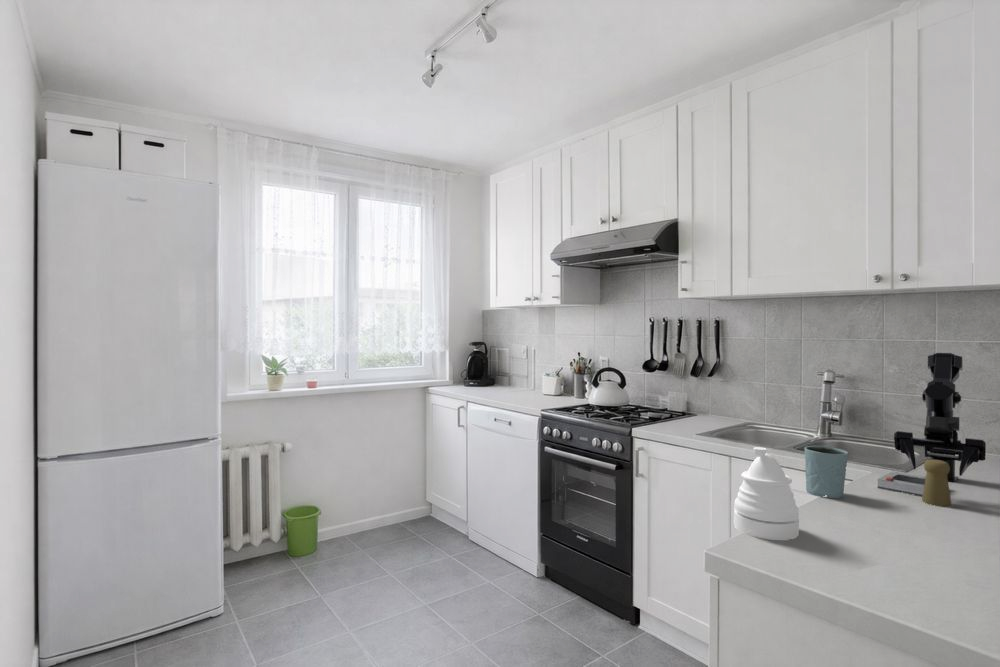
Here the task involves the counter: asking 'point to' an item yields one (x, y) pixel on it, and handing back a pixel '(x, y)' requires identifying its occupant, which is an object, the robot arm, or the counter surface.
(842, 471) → the teal cup
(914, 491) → the socket plate
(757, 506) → the honey pot
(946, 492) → the cork
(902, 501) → the counter surface
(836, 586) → the counter surface
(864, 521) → the counter surface
